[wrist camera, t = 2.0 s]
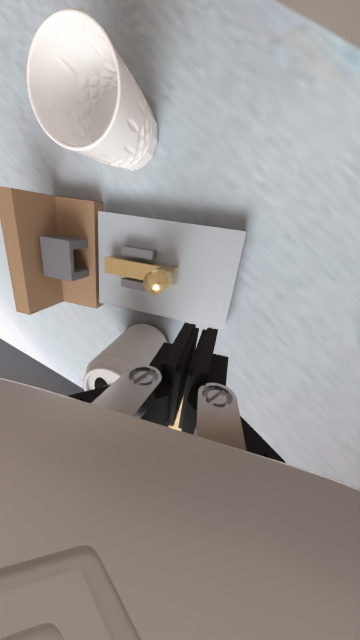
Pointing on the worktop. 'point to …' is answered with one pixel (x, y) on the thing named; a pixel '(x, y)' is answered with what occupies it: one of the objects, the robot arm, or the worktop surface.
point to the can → (123, 355)
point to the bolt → (143, 272)
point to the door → (117, 240)
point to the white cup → (88, 93)
